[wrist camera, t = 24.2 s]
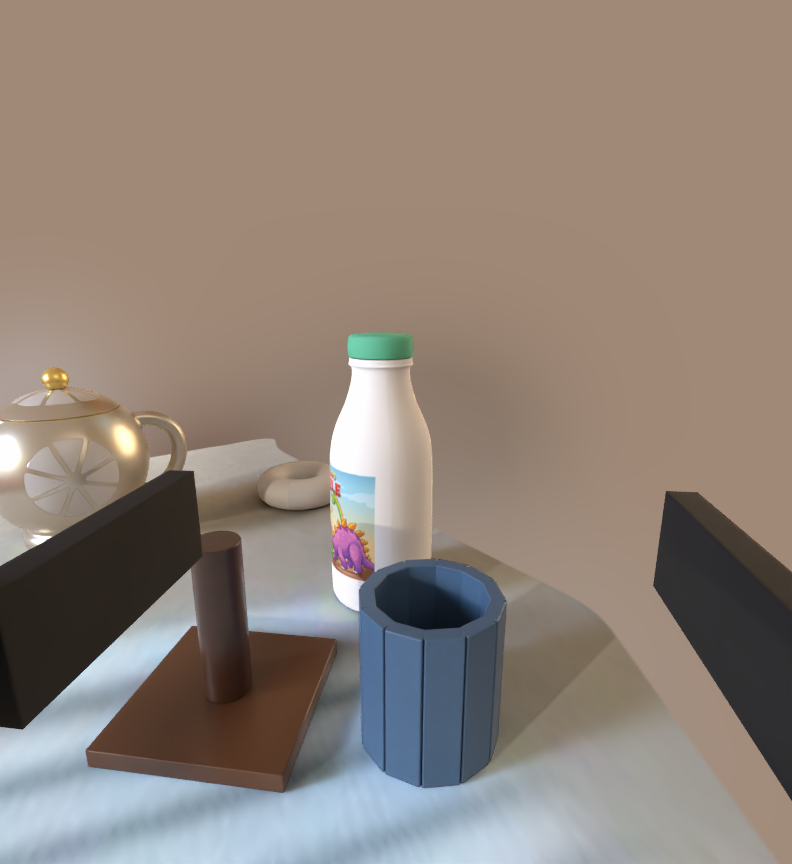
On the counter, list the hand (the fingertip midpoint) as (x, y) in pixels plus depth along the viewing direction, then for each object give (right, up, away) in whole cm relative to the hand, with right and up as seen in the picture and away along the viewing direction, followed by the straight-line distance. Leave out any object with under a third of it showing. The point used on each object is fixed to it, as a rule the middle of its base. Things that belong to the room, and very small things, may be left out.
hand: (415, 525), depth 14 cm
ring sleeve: (+1, -13, +13) cm, 19 cm away
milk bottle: (-2, -10, +26) cm, 28 cm away
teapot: (-30, -8, +36) cm, 48 cm away
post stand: (-10, -13, +15) cm, 22 cm away
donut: (-11, -5, +45) cm, 47 cm away
